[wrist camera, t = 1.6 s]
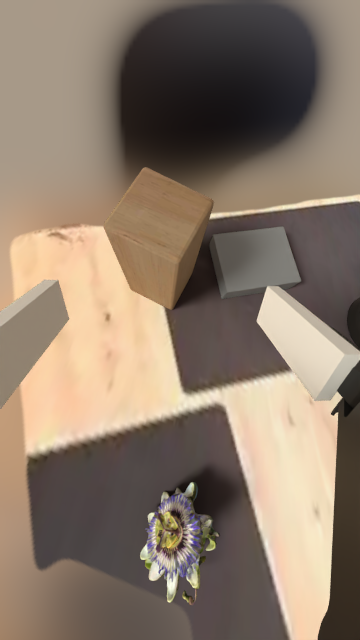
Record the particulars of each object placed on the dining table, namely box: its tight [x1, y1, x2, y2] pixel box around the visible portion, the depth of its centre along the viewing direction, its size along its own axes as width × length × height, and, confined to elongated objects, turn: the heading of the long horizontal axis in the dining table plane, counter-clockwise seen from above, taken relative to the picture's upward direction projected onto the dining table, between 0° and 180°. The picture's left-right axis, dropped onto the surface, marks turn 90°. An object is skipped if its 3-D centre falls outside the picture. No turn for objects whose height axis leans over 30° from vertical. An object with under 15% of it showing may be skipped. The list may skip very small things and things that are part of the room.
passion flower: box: [140, 482, 220, 605], centre depth 30 cm, size 11×11×12 cm
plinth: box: [209, 227, 301, 299], centre depth 43 cm, size 16×13×4 cm
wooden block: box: [104, 168, 213, 310], centre depth 33 cm, size 10×10×20 cm
